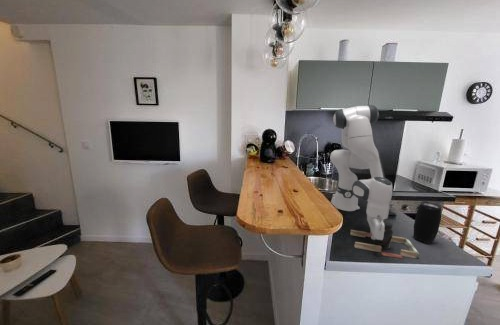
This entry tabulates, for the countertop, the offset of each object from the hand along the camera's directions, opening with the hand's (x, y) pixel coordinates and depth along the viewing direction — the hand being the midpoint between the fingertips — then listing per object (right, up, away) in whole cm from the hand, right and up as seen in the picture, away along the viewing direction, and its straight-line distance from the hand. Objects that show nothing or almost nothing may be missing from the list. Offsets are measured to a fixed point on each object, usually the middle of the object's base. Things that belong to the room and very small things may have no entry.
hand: (372, 237), depth 102 cm
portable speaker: (+29, -3, +5) cm, 29 cm away
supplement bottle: (+4, -4, 0) cm, 5 cm away
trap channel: (+4, -3, +1) cm, 6 cm away
